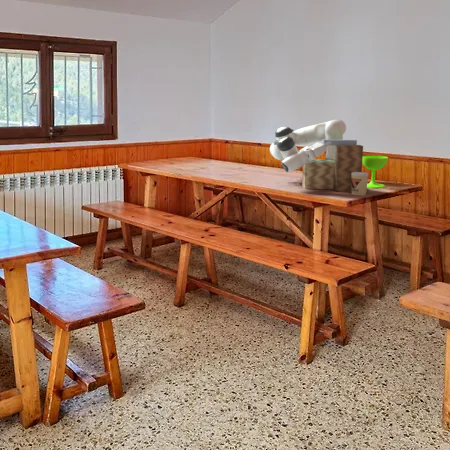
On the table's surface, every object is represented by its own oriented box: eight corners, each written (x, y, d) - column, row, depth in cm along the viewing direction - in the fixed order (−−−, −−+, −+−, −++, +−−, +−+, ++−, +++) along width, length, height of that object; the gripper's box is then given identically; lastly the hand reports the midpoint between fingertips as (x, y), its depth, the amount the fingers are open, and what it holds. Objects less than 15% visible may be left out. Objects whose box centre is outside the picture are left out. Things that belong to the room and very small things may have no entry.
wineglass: (355, 187, 362) (357, 157, 358) (364, 184, 376) (365, 155, 372) (381, 189, 354) (383, 158, 350) (389, 186, 368) (391, 156, 364)
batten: (323, 145, 343) (323, 140, 342) (322, 144, 346) (322, 139, 345) (356, 145, 343) (356, 140, 343) (355, 145, 346) (355, 139, 346)
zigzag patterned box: (304, 188, 355) (305, 161, 352) (302, 186, 365) (302, 159, 362) (345, 188, 356) (346, 161, 353) (341, 186, 366) (342, 159, 362)
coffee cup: (346, 193, 337) (347, 172, 335) (359, 192, 342) (360, 171, 340) (358, 196, 329) (359, 174, 327) (370, 194, 334) (372, 173, 332)
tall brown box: (336, 191, 345) (338, 145, 340) (333, 189, 354) (335, 144, 349) (360, 191, 346) (363, 145, 341) (356, 189, 355) (359, 144, 349)
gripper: (307, 156, 356) (328, 145, 355) (314, 160, 336) (336, 148, 335) (302, 147, 354) (323, 135, 353) (308, 150, 334) (330, 138, 333)
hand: (329, 141), depth 344 cm, fingers open, 5 cm apart
